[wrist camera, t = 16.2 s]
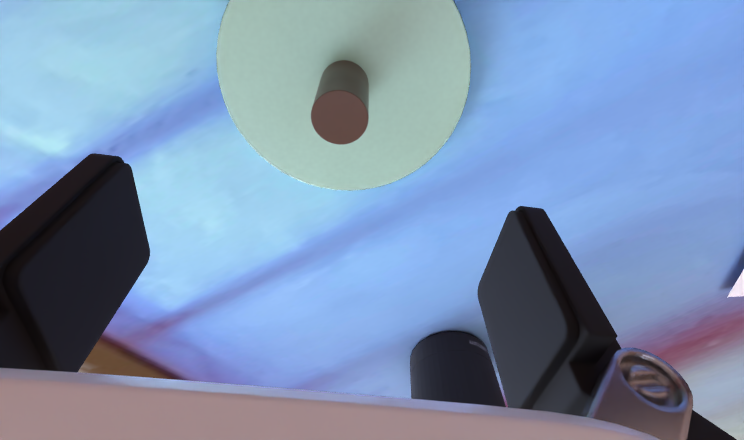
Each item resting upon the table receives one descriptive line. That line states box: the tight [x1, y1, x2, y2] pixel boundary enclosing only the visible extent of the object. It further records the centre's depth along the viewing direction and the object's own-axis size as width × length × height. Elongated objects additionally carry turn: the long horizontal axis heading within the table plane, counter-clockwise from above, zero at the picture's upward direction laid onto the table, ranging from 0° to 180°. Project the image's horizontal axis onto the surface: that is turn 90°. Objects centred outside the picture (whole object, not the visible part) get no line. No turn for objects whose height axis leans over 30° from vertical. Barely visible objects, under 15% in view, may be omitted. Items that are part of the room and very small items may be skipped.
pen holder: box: [410, 332, 506, 407], centre depth 43 cm, size 9×9×10 cm
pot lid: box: [216, 0, 471, 191], centre depth 26 cm, size 17×17×7 cm
